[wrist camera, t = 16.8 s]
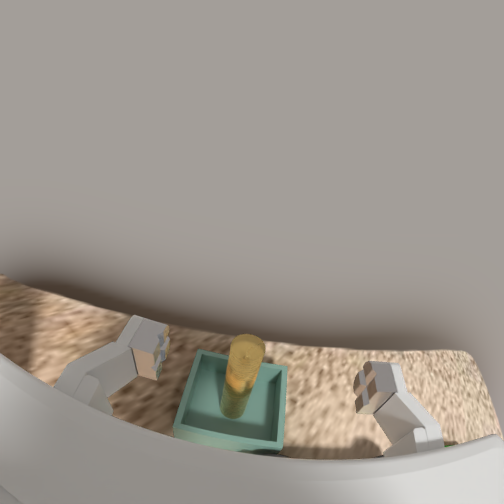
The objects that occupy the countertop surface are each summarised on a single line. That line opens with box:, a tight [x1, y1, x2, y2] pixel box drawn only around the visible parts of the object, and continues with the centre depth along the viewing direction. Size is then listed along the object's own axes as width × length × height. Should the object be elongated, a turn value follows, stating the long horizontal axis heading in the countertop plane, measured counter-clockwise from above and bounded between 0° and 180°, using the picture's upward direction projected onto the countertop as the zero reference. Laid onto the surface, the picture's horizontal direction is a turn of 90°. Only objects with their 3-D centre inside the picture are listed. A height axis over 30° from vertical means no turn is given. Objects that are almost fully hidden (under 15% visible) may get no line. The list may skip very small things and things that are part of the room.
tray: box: [173, 349, 287, 455], centre depth 35 cm, size 14×14×5 cm
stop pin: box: [220, 334, 265, 419], centre depth 32 cm, size 4×4×15 cm
